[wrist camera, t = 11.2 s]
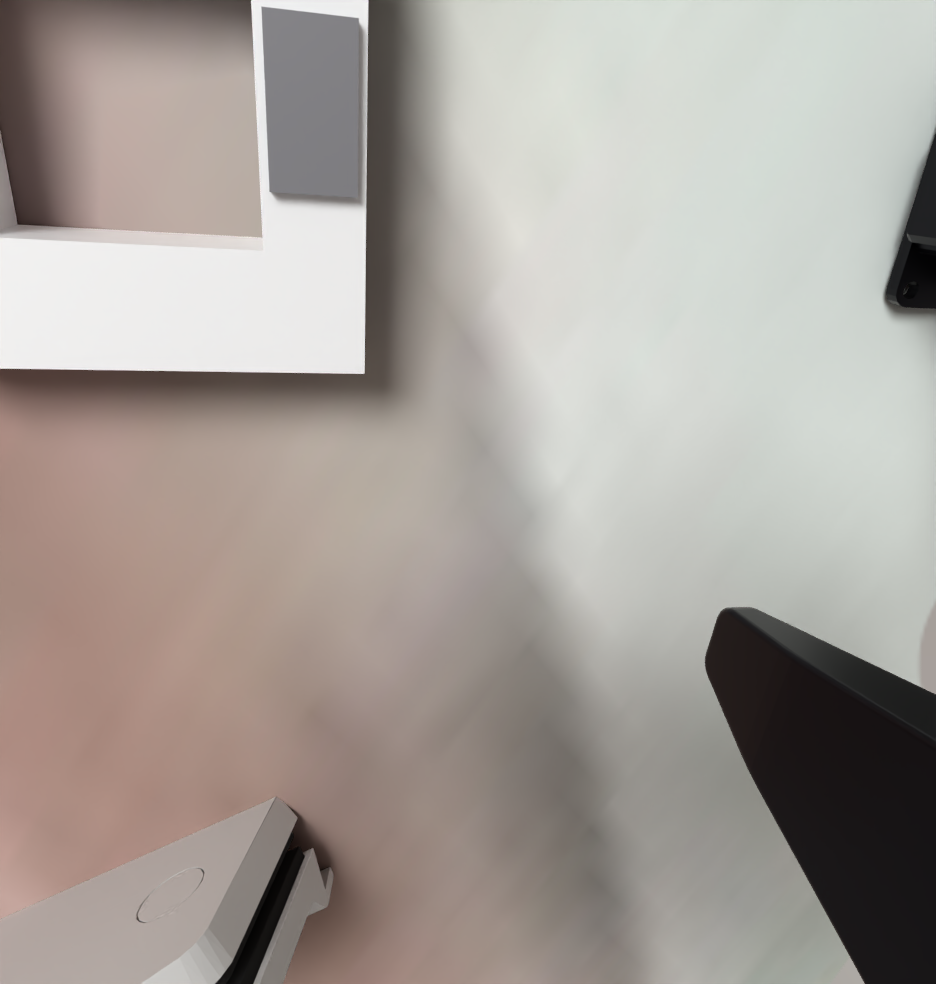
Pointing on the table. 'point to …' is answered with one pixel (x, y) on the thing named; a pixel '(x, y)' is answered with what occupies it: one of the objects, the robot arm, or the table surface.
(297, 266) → the socket plate
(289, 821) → the white curved block
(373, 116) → the table surface
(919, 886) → the robot arm
